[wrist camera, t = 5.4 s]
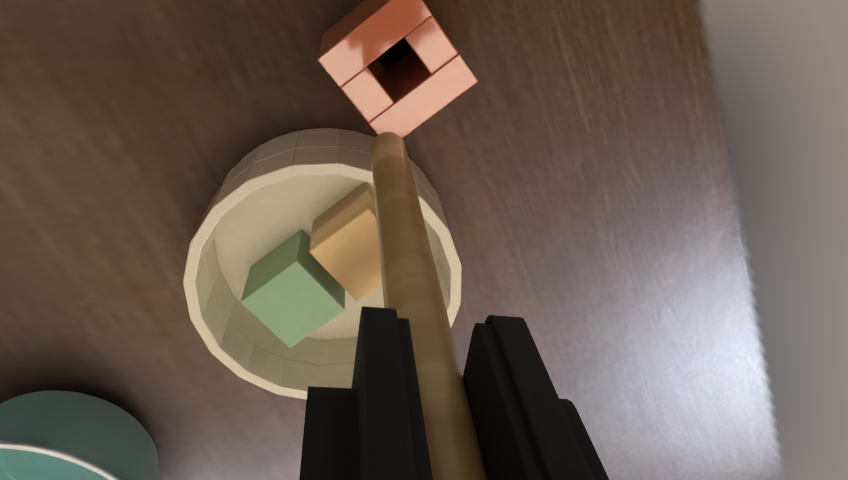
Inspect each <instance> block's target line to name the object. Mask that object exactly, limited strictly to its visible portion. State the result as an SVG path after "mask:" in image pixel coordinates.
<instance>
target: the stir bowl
mask: <svg viewBox="0 0 848 480" xmlns="http://www.w3.org/2000/svg"><path fill="white" fill-rule="evenodd" d="M374 138H375V137H372V136H369V135H366V134H363V133H360V132H356V131H350V130H345V129H334V128H316V129H306V130H301V131H296V132H291V133H288V134H285V135H282V136H279V137H276V138H274V139H272V140H270V141H268V142H266V143H264V144H262V145H260V146H258V147H257V148H255V149H254V150H253V151H251V152H250V153H248V154H247V155H246V156H245V157H243V158H242V159H241V160H240V161H239V162H238V163H237V164H236V165H235V166H234V167H233V168H232V170H230V172H229V173H228V174H227V176H226V177H225V179H224V180H223V182H222V184H221V185H220V187H219V189H218V190H217V192H216V194H215V195H214V197H213V199H212V200H211V202H210V204H209V206H208V208H207V210H206V212H205V214H204V216H203V218H202V220H201V222H200V224H199V226H198V228H197V230H196V232H195V234H194V236H193V238H192V240H191V243H190V246H189V251H188V256H187V262H186V267H185V273H184V278H183V285H184V290H185V295H186V300H187V305H188V310H189V315H190V319H191V321H192V323H193V324H194V326H195V328H196V329H197V331H198V333H199V334H200V336H201V338H202V339H203V341H204V342H205V344H206V346H207V347H208V349H209V351H210V352H211V353H212V354H213V355H214V356H215V357H216V358H217V359H219V360H220V361H221V362H222V363H223V364H224V365H226V366H227V367H228V368H229V369H230V370H231V371H233V372H234V373H235V374H236V375H237V376H238V377H241V378H242V379H244V380H246V381H248V382H251V383H253V384H255V385H257V386H259V387H262V388H264V389H266V390H268V391H270V392H272V393H275V394H276V393H277V394H278V395H283V396H289V397H295V398H300V399H306V400H307V391H308V386H313V387H333V388H351V387H352V379H353V370H354V362H355V354H356V346H357V338H358V330H359V322H360V314H361V309H362V306H364V307H379V308H384V299H383V287H382V284H381V285H379V286H378V287H376V288H375V289H374V290H372V291H371V292H369V293H368V294H366V295H365V296H364V297H362V298H361V299H359V300H358V301H356V300H355V299H354V298H353V297H352V296H351V295H350V294H349V293H348V292H347V291H346V290H345V310H344V311H342V312H341V313H340V314H338V315H337V316H335V317H334V318H333V319H331V320H330V321H328V322H327V323H325V324H324V325H323V326H321V327H320V328H318V329H317V330H315V331H314V332H313V333H311V334H310V335H308V336H307V337H305V338H304V339H303V340H301V341H300V342H298V343H297V344H295V345H294V346H293V347H291V348H289V347H288V346H287V345H286V344H285V343H284V342H283V341H282V340H281V339H279V338H278V337H277V336H276V335H275V334H274V333H273V332H272V331H271V330H270V329H269V328H268V327H266V326H265V325H264V324H263V323H262V322H261V321H260V320H259V319H258V318H257V317H256V316H255V315H254V314H252V313H251V312H250V311H249V310H248V309H247V308H246V307H245V306H244V305H243V304H242V303H241V298H242V295H243V291H244V288H245V284H246V281H247V277H248V274H249V270H250V267H251V266H252V265H254V264H255V263H256V262H258V261H259V260H260V259H262V258H263V257H264V256H266V255H267V254H268V253H270V252H271V251H272V250H274V249H275V248H276V247H278V246H279V245H280V244H282V243H283V242H284V241H286V240H287V239H289V238H290V237H291V236H293V235H294V234H295V233H297V232H298V231H299V230H301V229H302V230H303V231H304V232H305V233H306V234H307V235H308V236H309V237H310V238H311V233H312V225H313V220H314V219H316V218H317V217H318V216H320V215H321V214H322V213H324V212H325V211H326V210H328V209H329V208H330V207H332V206H333V205H335V204H336V203H337V202H339V201H340V200H341V199H343V198H344V197H345V196H347V195H348V194H349V193H351V192H352V191H353V190H355V189H356V188H357V187H359V186H360V185H361V184H363V183H364V182H368V183H369V184H370V185H371V186H372V188H373V189H374V186H373V175H372V164H371V153H370V146H371V143H372V141H373V139H374ZM409 162H410V166H411V170H412V174H413V178H414V182H415V186H416V190H417V194H418V198H419V202H420V206H421V210H422V214H423V218H424V222H425V226H426V230H427V234H428V239H429V243H430V247H431V251H432V255H433V259H434V263H435V267H436V271H437V275H438V279H439V283H440V287H441V291H442V295H443V299H444V303H445V307H446V311H447V315H448V319H449V323H450V327H452V324H453V322H454V319H455V317H456V314H457V312H458V309H459V307H460V303H461V275H462V267H461V263H460V260H459V257H458V254H457V251H456V247H455V244H454V241H453V238H452V235H451V232H450V229H449V226H448V223H447V220H446V217H445V214H444V211H443V209H442V206H441V203H440V200H439V197H438V194H437V192H436V191H435V190H434V188H433V186H432V184H431V183H430V181H429V180H428V178H427V177H426V176H425V174H424V173H423V172H422V171H421V170H420V168H419V167H418V166H417V165H416V164H415V163H414V162H413V161H412V160H410V159H409Z"/></svg>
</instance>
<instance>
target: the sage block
mask: <svg viewBox="0 0 848 480" xmlns="http://www.w3.org/2000/svg"><path fill="white" fill-rule="evenodd" d="M310 241H311V238H310V237H309V236H308V235H307V234H306V233H305V232H304V231H303V230H302V229H301V230H299V231H298V232H297V233H295V234H294V235H293V236H291V237H290V238H289V239H287V240H286V241H284V242H283V243H282V244H280V245H279V246H278V247H276V248H275V249H274V250H272V251H271V252H270V253H268V254H267V255H266V256H264V257H263V258H262V259H260V260H259V261H258V262H256V263H255V264H254V265H252V266H251V267H250V270H249V274H248V277H247V281H246V284H245V288H244V291H243V295H242V298H241V303H242V304H243V305H244V306H245V307H246V308H247V309H248V310H249V311H250V312H251V313H252V314H254V315H255V316H256V317H257V318H258V319H259V320H260V321H261V322H262V323H263V324H264V325H265V326H266V327H268V328H269V329H270V330H271V331H272V332H273V333H274V334H275V335H276V336H277V337H278V338H279V339H281V340H282V341H283V342H284V343H285V344H286V345H287V346H288V347H289V348H291V347H293V346H294V345H295V344H297V343H298V342H300V341H301V340H303V339H304V338H305V337H307V336H308V335H310V334H311V333H313V332H314V331H315V330H317V329H318V328H320V327H321V326H323V325H324V324H325V323H327V322H328V321H330V320H331V319H333V318H334V317H335V316H337V315H338V314H340V313H341V312H342V311H344V310H345V289H344V288H343V287H342V286H341V285H340V284H339V282H338V281H337V280H336V279H335V278H334V277H333V276H332V275H331V274H330V273H329V272H328V271H327V270H326V269H325V268H324V267H323V266H322V265H321V264H320V263H319V262H318V261H317V260H316V259H315V258H314V257H313V255H312V254H311V253H310V252H309V249H310Z"/></svg>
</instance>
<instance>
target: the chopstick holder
mask: <svg viewBox="0 0 848 480" xmlns="http://www.w3.org/2000/svg"><path fill="white" fill-rule="evenodd" d="M403 37H405V39H406V41H407V42H408V43H409V45H410V46H411V48H412V49H413V51H411V52H410V53H409V54H408V55H406V56H405V57H404V58H402V59H401V60H400V61H399V62H397V63H396V64H395V65H393V66H392V67H391V68H390V69H388V70H387V71H386V69H385V67H384V66H383V65H382V63H381V62H380V61H379V60H378V57H379V56H380V55H382V54H383V53H384V52H386V51H387V50H388V49H389V48H391V47H392V46H393V45H394V44H396V43H397V42H398V41H400V40H401V39H402V38H403ZM317 60H318V62H319V63H320V64H321V65H322V67H323V68H324V69H325V70H326V71H327V73H328V74H329V75H330V76H331V78H332V79H333V80H334V81H335V83H336V84H337V85H338V86H339V87H340V88H341V90H342V91H343V92H344V94H345V95H346V96H347V97H348V98H349V100H350V101H351V102H352V103H353V105H354V106H355V107H356V108H357V110H358V111H359V112H360V113H361V115H362V116H363V117H364V118H365V119H366V121H367V122H369V125H370V126H371V127H372V128H373V130H374V131H375V132H376V133H377V134H378V135H379V134H381V133H384V132H393V133H395V134H397V135H399V136H400V137H401V138H404V137H405V136H406V135H408V134H409V133H410V132H412V131H413V130H414V129H416V128H417V127H418V126H420V125H421V124H422V123H424V122H425V121H426V120H428V119H429V118H430V117H432V116H433V115H434V114H436V113H437V112H438V111H440V110H441V109H442V108H444V107H445V106H446V105H448V104H449V103H450V102H452V101H453V100H454V99H456V98H457V97H458V96H460V95H461V94H462V93H464V92H465V91H466V90H468V89H469V88H470V87H472V86H473V85H474V84H476V83H477V82H478V80H477V78H476V77H475V75H474V74H473V73H472V71H471V70H470V68H469V67H468V65H467V64H466V62H465V61H464V60H463V58H462V57H461V55H460V54H459V53H458V51H457V50H456V48H455V47H454V45H453V44H452V42H451V41H450V39H449V38H448V37H447V35H446V34H445V32H444V31H443V29H442V28H441V26H440V25H439V24H438V22H437V21H436V19H435V18H434V16H433V15H432V13H431V12H430V11H429V9H428V8H427V6H426V5H425V3H424V2H423V0H364V1H363V2H362V3H361V4H359V5H358V6H357V7H356V8H355V9H353V10H352V11H351V12H350V13H348V14H347V15H346V16H345V17H343V18H342V19H341V20H340V21H339V22H337V23H336V24H335V25H334V26H332V27H331V28H330V29H329V30H327V31H326V32H325V33H324V34H323V38H322V42H321V46H320V50H319V55H318V59H317Z"/></svg>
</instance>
